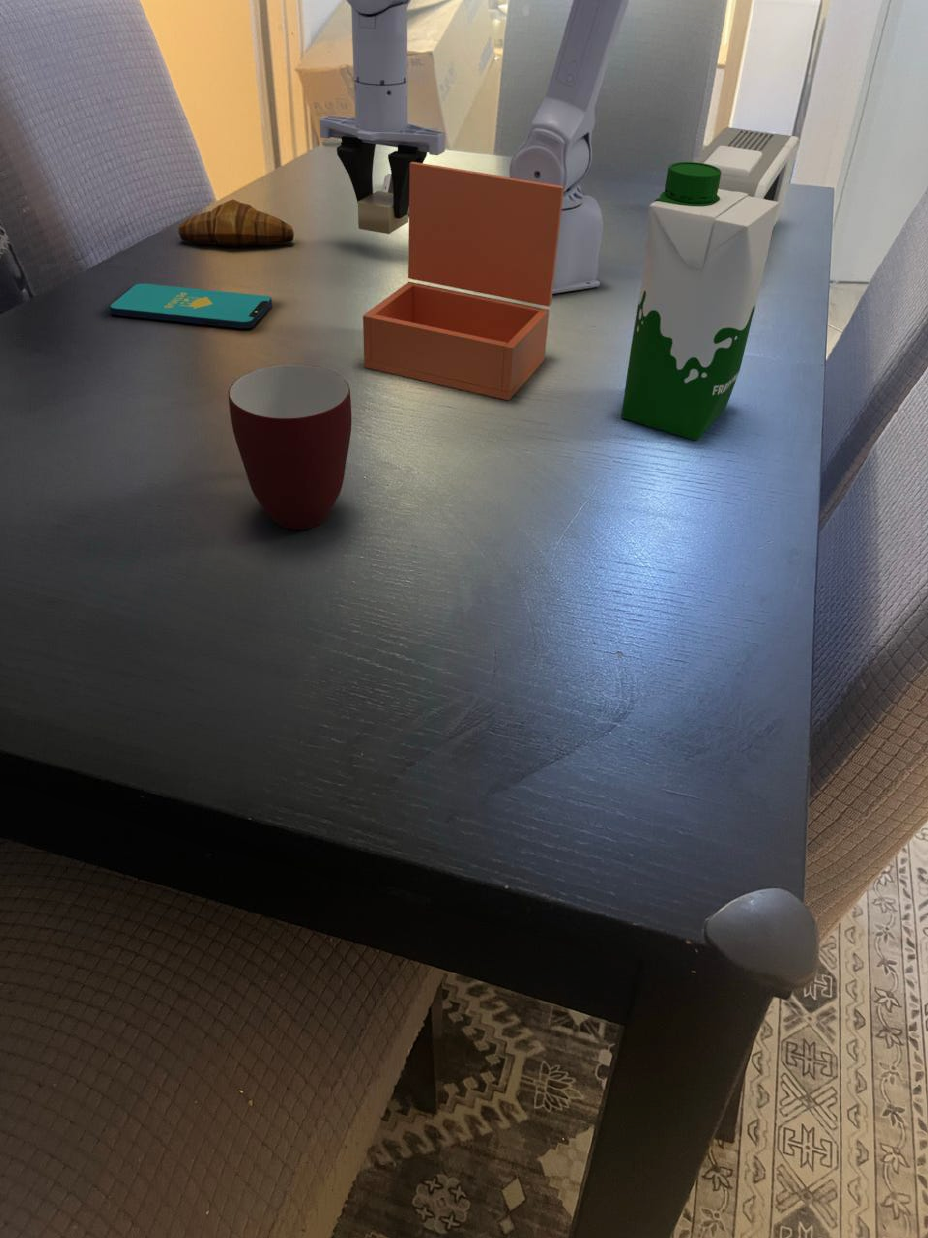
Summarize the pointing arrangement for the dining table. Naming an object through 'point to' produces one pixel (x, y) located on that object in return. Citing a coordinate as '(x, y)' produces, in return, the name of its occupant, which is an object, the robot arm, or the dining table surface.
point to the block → (379, 213)
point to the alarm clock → (753, 162)
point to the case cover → (483, 232)
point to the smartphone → (192, 305)
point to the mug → (293, 439)
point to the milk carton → (695, 300)
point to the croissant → (235, 227)
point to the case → (456, 339)
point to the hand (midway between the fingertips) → (383, 212)
